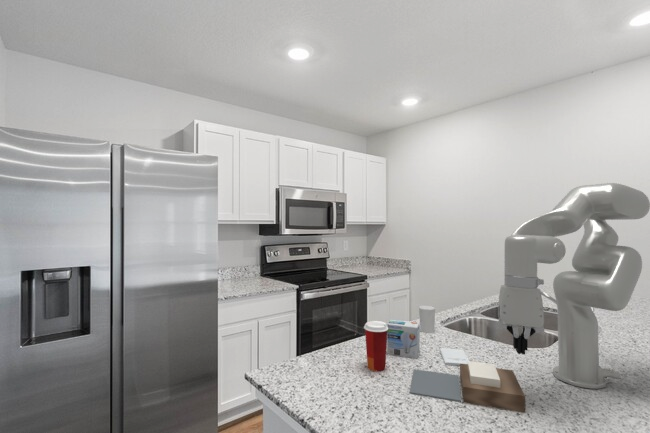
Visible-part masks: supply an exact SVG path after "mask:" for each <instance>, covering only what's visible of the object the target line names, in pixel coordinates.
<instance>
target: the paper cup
mask: <svg viewBox="0 0 650 433" xmlns="http://www.w3.org/2000/svg"><path fill="white" fill-rule="evenodd" d="M387 324H388V323H387V322H384V321H380V320H370V321H367V322H366V323H365V324H364V326H363V329H364V330H365V347H366V349H365V350H366V364H367V369H368V370H369V371H372V372H374V373H375V372H376V373H377V372H379V373H380V372H381V373H382V372H384V371H385V370H386V362H387V330H388V327H387Z"/></svg>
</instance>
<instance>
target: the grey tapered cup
mask: <svg viewBox="0 0 650 433" xmlns="http://www.w3.org/2000/svg"><path fill="white" fill-rule="evenodd" d="M418 312H419V313H418V314H419V328H420V333H423V334H434V333H435V328H436V327H435V324H436V323H435V321H436V307H434V306H431V305H419V306H418Z"/></svg>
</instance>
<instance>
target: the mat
mask: <svg viewBox="0 0 650 433" xmlns="http://www.w3.org/2000/svg"><path fill="white" fill-rule="evenodd" d="M459 378H460V376H459V375H458V374H451V373H445V372H437V371H429V370H421V369H416V368H414V369H413V372H412V376H411V381H410V382H411V383H410V387H409V394H410V395H416V396H421V397H428V398H434V399H439V400H447V401H452V402H457V403H462V394H461V389H460V386H461V385H460V380H459Z"/></svg>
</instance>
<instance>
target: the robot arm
mask: <svg viewBox="0 0 650 433" xmlns="http://www.w3.org/2000/svg"><path fill="white" fill-rule="evenodd" d="M649 211H650V199H649V197H648V195H647V194H646V193H644V192H643V191H642V190H640V189H636V188H633V187H630V186H628V185H626V184H621V183H615V182H609V183H608V182H607V183H599V184H598V183H597V184H587V185H580V186H579V185H578V186H576V187H574V188H572V189H571V190H570V191H568V192H567V194H565V196H563V198H562V199H561V200H560V202H558V204H556V205H555V206H554V207H553V209H552V210H550V211H547V212H545V213H542V214H540V215H538V216H536V217H534V218H531V219H530V220H527V221H525V222H524V223H522V224H521V225H520V226H518V227H517V228H516V229H515V230H514V231H513V232H512V234H511V235H508V236H507V237H506V238H505V239H504V285H500V289H499V294H498V305H497V307H498V308H497V317H498V320H497V326H498V327H499V328H500V329H502V330H505V331H506V330H507V331H508V332H509V333H510V334H511V335H512V336H513V338H512V339H513V341H512V342H513V343H512V346H513V350H514V349H515V351H516V353H517V354H519V355H520V354H522V355H526V351H528V342H529V341H528V340H529V339H530V338H531V337H532V336H533V335H534V334H538V333H545V328H544V327H545V326H544V325H545V313H544V305H543V303H544V302H543V296H542V292H541V289H540V288H539V286H541V285H544V283H545V282H544V279H541V278H539V277H538V263H539V264H548V265H551V264H556V263H559V262H560V261H562V260H563V258H564V257H565V255H566V253H567V252H566V249H567V248H566V246H565V243H564V242H563V241H562V240H561V239H559V238H557V237H561V236H565V235H569V234H573V233H576V232H578V231H579V230H580V229H581V228H582V227H583V230H584V231H583V232H584V233H583V236H582V238H581V239H580V242H579V243H578V246H577V248H576V250H575V251H574V253H573V256H572V259H571V266H572V267H573V269H574V270H575V271H574V270H567V271H561V272H559V273H557V275H555V276H554V279H553V282H552V285H553V286H552V287H553V293H554V297H555V301H556V307H557V337H558V338H557V341H558V342H557V344H558V346H557V347H558V349H557V351H558V365H557V366H555V367H553V368H552V374H553V376H554V377H555V378H556V379H558V380H559V381H562V382H564V383H565V384H569V385H572V386H574V387H579V388H583V389H592V390H593V389H595V390H596V389H597V390H598V389H604V388H605V387H607V380H606V379H609V378H611V379H615V380H621V379H622V376H621V372H620V371H614V370H613V371H612V370H611V368H606V367H601V366H600V363H599V362H600V360H599V356H600V355H599V354H600V352H599V322H598V318H597V316H596V315H595V314H596V313H595V312H594V311H593V310H592V309H591V308H595V309H600V310H605V311H610V312H619V311H622V310H624V309H625V308H626V307H627V306H628V304H629V303H630V300H631V297H632V296H633V293H634V291H635V288H636V286H637V283H638V280H639V279H640V276H641V273H642V268H643V261H642V260H643V259H642V256H641V254H640V252H639V251H638V250H637V249H635V248H633V247H631V246H626V245H618V243H619V236H618V234H617V232H616V230H615V229H614V228H613V227H612V226H611V225H610V224H608V222H607V220H608V221H610V220H612V221H613V220H614V221H615V220H617V221H618V220H639V219H643V218H645V216H646V215H648V213H649ZM518 327H521V328H522V330H521V334H520V333H519V328H518Z"/></svg>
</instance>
